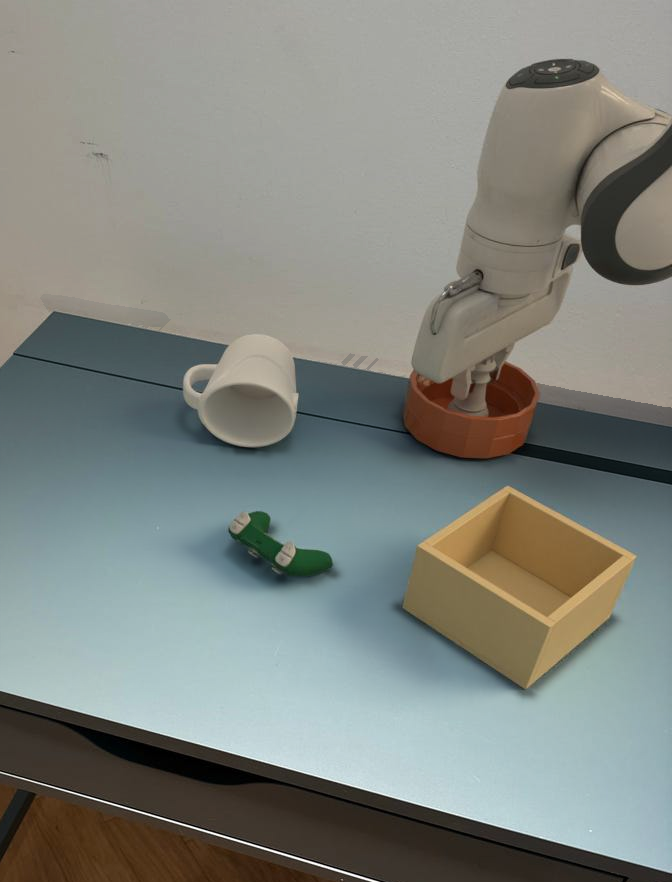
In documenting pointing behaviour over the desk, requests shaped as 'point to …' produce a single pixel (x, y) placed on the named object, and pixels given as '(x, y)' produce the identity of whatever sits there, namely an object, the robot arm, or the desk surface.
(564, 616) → the bin
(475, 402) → the rook chess piece
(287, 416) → the mug
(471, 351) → the robot arm
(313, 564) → the green two-tone curved device
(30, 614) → the desk surface
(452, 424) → the bowl
